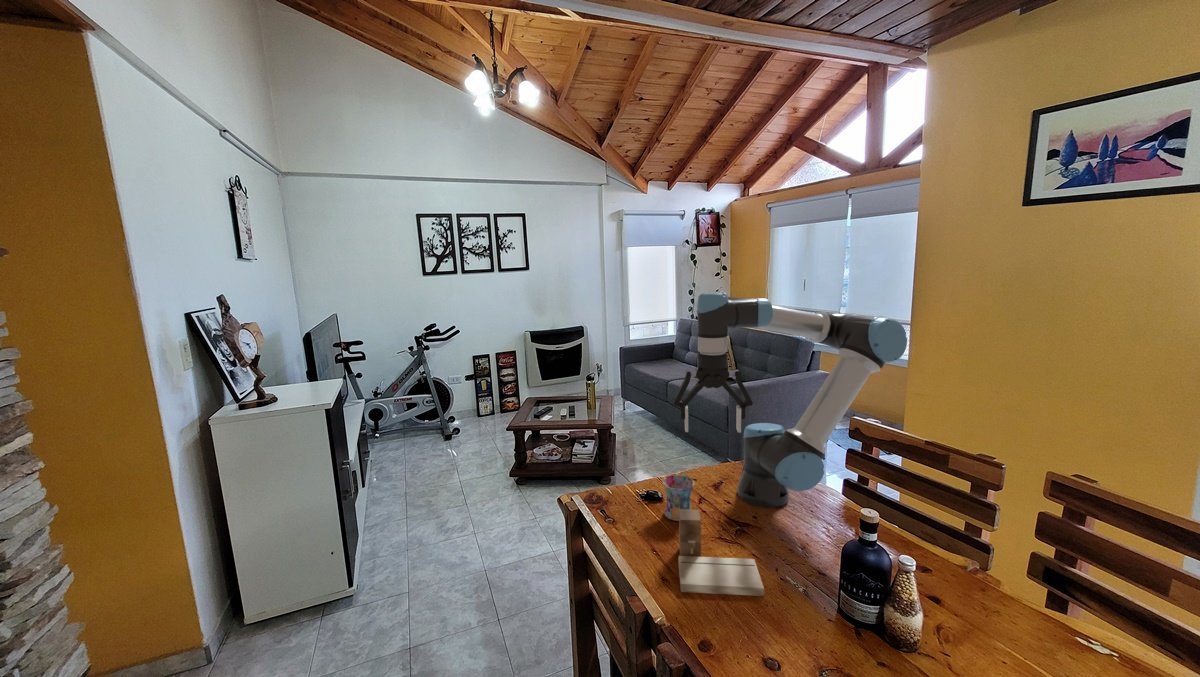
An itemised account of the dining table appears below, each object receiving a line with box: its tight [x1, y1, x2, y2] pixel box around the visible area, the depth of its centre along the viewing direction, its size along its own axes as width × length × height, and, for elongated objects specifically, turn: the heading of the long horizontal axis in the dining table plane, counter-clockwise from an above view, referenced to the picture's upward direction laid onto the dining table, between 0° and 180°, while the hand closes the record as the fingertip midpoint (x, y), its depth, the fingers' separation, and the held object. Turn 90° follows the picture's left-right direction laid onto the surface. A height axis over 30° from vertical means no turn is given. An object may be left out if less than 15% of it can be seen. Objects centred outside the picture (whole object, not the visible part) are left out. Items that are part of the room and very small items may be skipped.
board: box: [677, 555, 765, 597], centre depth 105 cm, size 18×10×2 cm, turn 83°
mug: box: [661, 474, 696, 522], centre depth 132 cm, size 12×9×11 cm
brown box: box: [678, 508, 702, 557], centre depth 111 cm, size 5×9×11 cm, turn 173°
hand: (712, 430), depth 120 cm, fingers open, 13 cm apart
